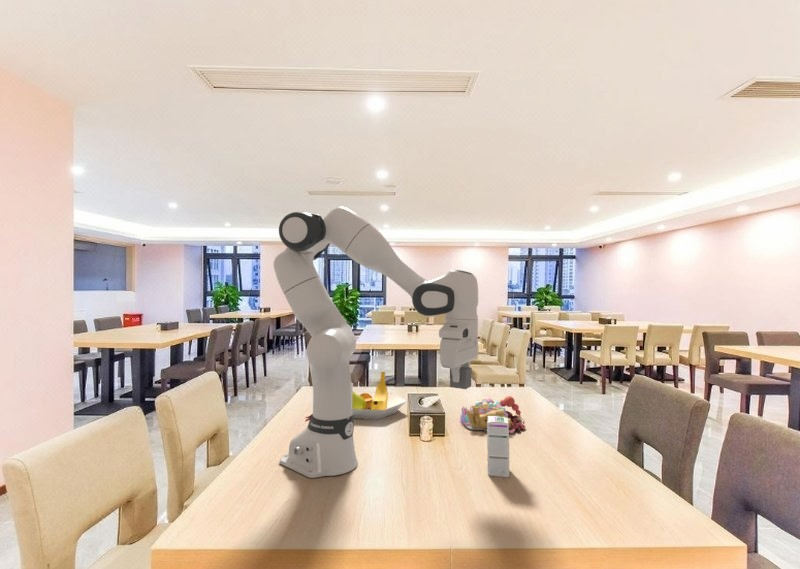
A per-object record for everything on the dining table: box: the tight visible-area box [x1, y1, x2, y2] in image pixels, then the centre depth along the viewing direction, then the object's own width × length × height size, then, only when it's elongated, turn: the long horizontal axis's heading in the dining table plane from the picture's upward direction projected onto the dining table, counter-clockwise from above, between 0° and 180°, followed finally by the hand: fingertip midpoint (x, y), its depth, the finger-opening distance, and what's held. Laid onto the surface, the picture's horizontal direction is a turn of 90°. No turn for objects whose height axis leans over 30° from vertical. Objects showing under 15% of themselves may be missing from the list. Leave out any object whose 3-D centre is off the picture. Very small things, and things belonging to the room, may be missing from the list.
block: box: [449, 366, 473, 390], centre depth 111 cm, size 4×4×5 cm
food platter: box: [459, 395, 526, 434], centre depth 152 cm, size 25×24×9 cm
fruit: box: [352, 371, 407, 420], centre depth 165 cm, size 30×26×14 cm
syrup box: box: [486, 416, 510, 478], centre depth 111 cm, size 6×6×14 cm
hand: (460, 379), depth 111 cm, fingers closed on block, 4 cm apart
